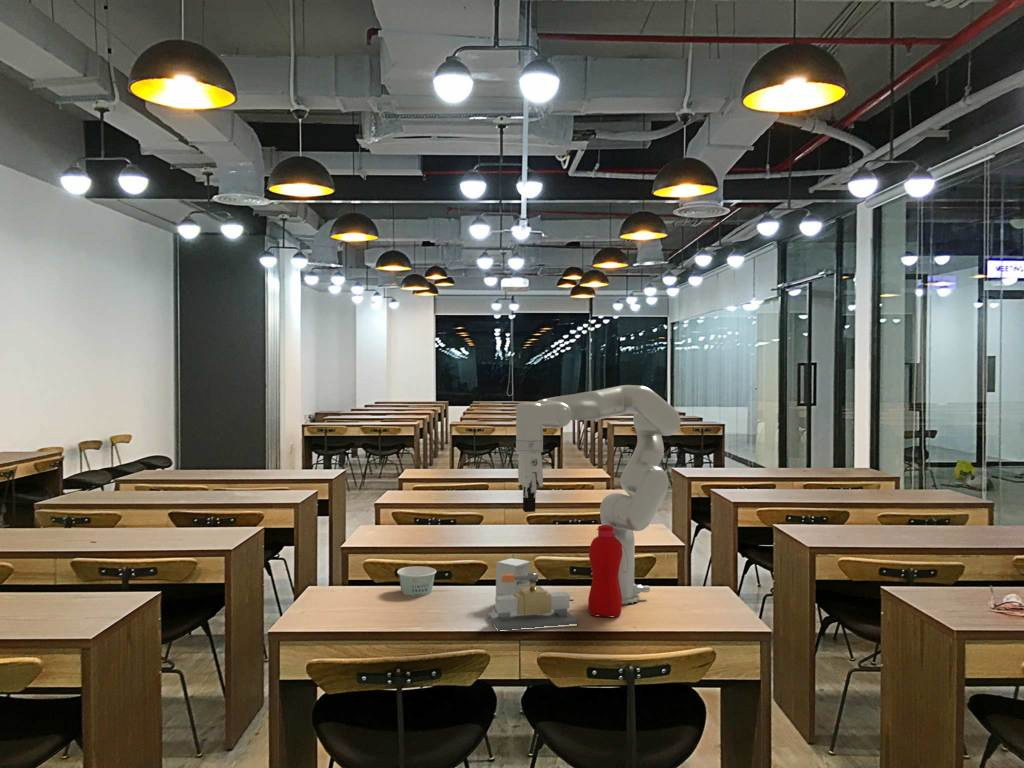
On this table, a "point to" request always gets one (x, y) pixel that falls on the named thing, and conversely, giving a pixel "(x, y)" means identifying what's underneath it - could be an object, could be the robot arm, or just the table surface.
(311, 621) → the table surface
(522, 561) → the supplement box
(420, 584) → the food container
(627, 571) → the robot arm
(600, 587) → the water bottle
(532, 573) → the valve lever
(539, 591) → the pipe valve
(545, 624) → the mounting board
